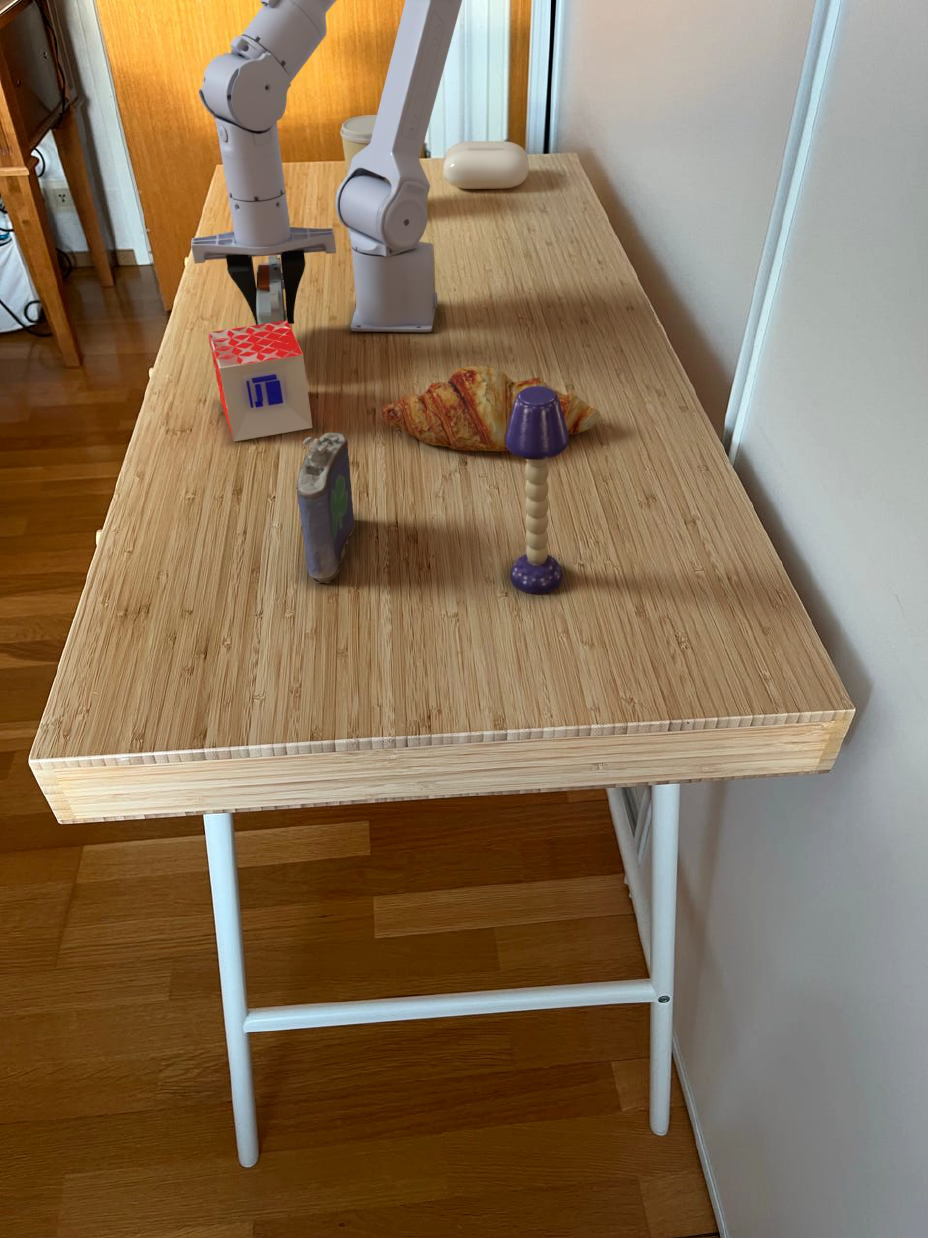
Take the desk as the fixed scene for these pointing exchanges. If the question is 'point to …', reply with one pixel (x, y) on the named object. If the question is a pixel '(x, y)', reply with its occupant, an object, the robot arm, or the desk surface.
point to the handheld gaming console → (270, 292)
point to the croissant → (475, 410)
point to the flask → (325, 504)
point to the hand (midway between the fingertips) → (275, 321)
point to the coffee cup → (357, 136)
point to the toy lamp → (536, 481)
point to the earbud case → (485, 165)
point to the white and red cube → (261, 380)
